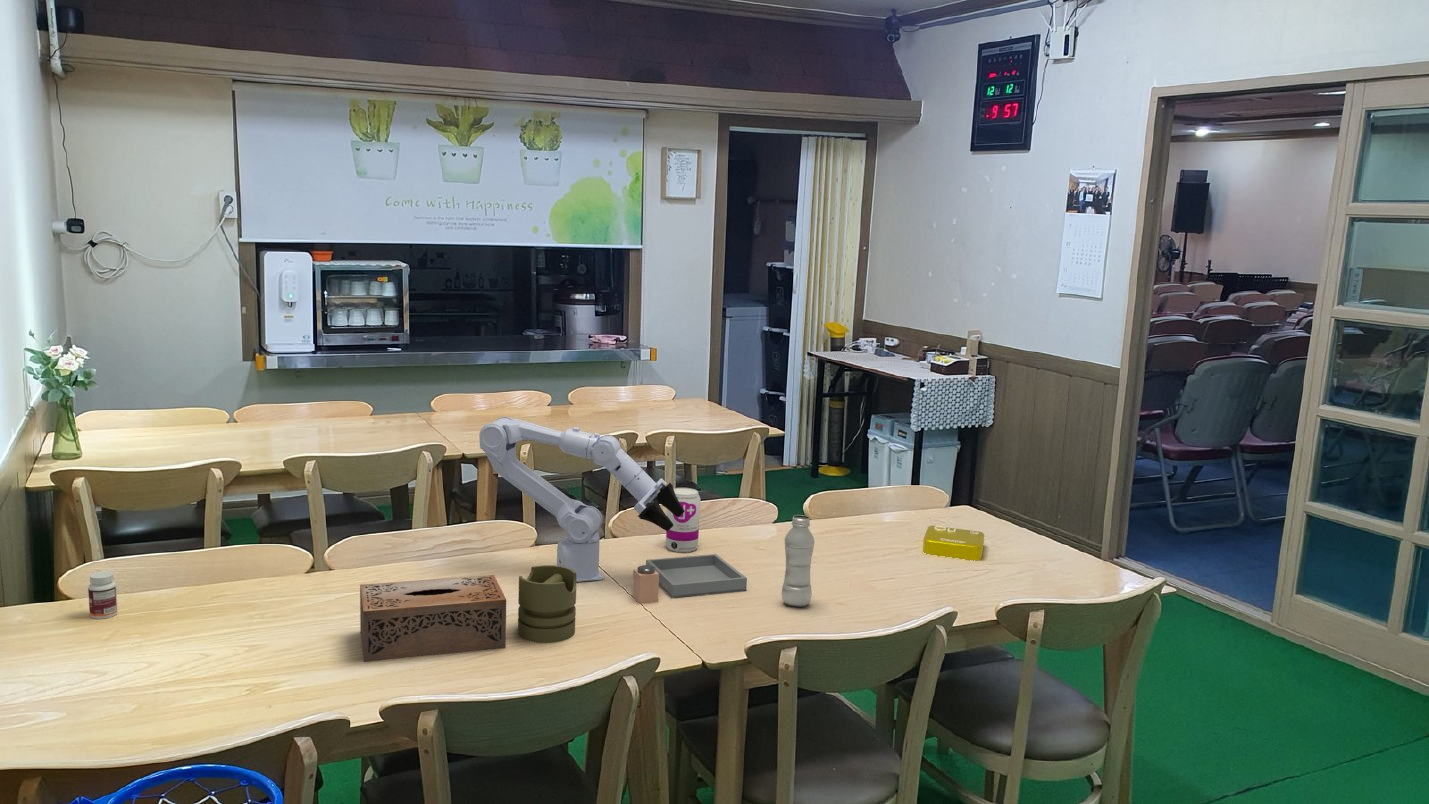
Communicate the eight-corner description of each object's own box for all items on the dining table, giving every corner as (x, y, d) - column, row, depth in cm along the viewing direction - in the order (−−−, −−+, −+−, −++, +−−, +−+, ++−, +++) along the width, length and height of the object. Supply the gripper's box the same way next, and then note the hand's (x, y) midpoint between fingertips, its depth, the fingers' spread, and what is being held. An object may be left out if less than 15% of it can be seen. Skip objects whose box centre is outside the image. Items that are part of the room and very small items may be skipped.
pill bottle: (92, 611, 208) (89, 571, 207) (119, 609, 210) (117, 569, 208) (87, 620, 204) (85, 579, 202) (115, 618, 205) (113, 577, 204)
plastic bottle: (809, 611, 228) (815, 522, 224) (778, 607, 229) (784, 519, 226) (812, 601, 234) (818, 514, 231) (782, 598, 235) (788, 511, 232)
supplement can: (697, 554, 263) (700, 496, 261) (664, 552, 263) (667, 494, 261) (698, 544, 271) (701, 488, 269) (666, 542, 271) (669, 486, 269)
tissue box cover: (493, 621, 214) (494, 574, 212) (505, 649, 201) (506, 599, 199) (360, 633, 205) (360, 584, 203) (363, 663, 192) (363, 611, 190)
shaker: (638, 603, 227) (640, 572, 226) (632, 596, 231) (633, 565, 230) (657, 602, 229) (659, 570, 228) (651, 595, 233) (652, 564, 232)
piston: (508, 579, 204) (534, 562, 214) (507, 638, 206) (532, 618, 216) (562, 587, 201) (585, 569, 211) (561, 646, 203) (583, 626, 213)
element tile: (921, 555, 273) (923, 537, 272) (927, 539, 287) (928, 523, 286) (980, 563, 269) (982, 545, 268) (983, 547, 283) (984, 530, 282)
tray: (672, 598, 232) (672, 585, 231) (645, 572, 248) (646, 559, 247) (746, 590, 239) (746, 578, 238) (715, 565, 255) (716, 553, 254)
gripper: (632, 480, 229) (676, 524, 229) (656, 456, 242) (697, 498, 242) (613, 499, 232) (656, 542, 232) (637, 474, 245) (678, 515, 245)
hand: (676, 521), depth 238 cm, fingers open, 7 cm apart
